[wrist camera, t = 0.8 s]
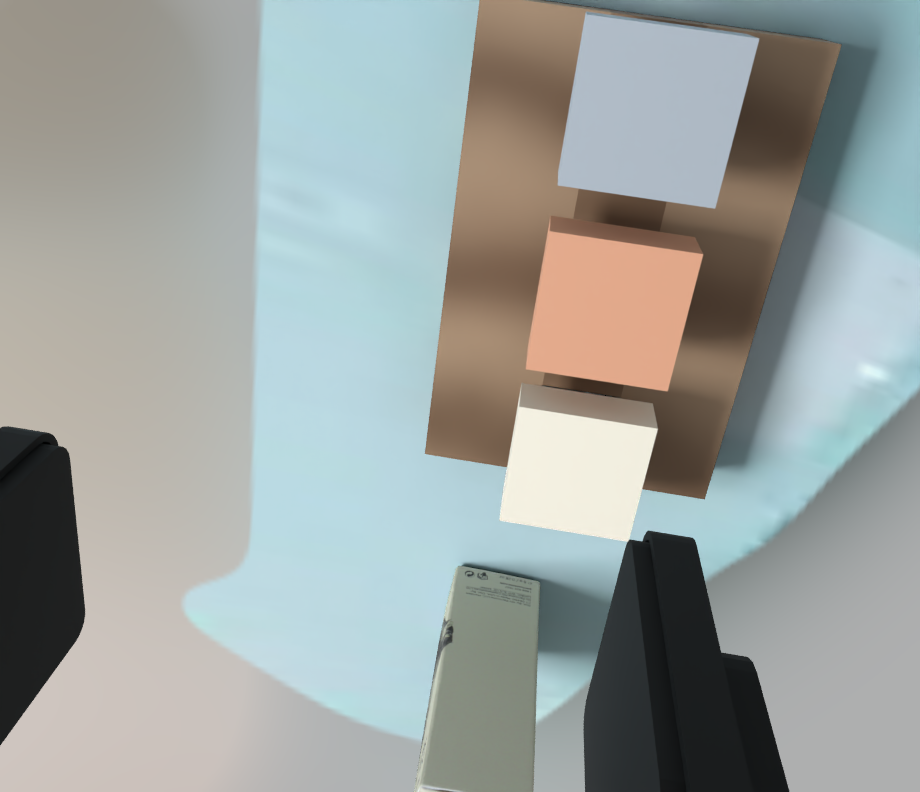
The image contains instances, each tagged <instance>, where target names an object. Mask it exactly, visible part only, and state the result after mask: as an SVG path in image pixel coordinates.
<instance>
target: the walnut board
mask: <svg viewBox="0 0 920 792" xmlns="http://www.w3.org/2000/svg"><path fill="white" fill-rule="evenodd" d="M586 12H593V13H601V14H608V15H615V16H622V17H629V18H636V19H644V20H651V21H658V22H665V23H672V24H679V25H687V26H694V27H701V28H708V29H715V30H723V31H730V32H737V33H744V34H748V35H751V36H754V37H757V38H759V42H758V46H757V50H756V54H755V58H754V61H753V65H752V69H751V73H750V77H749V81H748V85H747V88H746V92H745V96H744V100H743V104H742V108H741V111H740V115H739V119H738V123H737V127H736V131H735V134H734V138H733V142H732V146H731V150H730V154H729V158H728V161H727V165H726V169H725V173H724V177H723V181H722V184H721V188H720V192H719V196H718V200H717V204H716V207H715V209H714V208H707V207H700V206H694V205H687V204H680V203H673V202H667V201H660V200H653V199H646V198H639V197H633V196H626V195H619V194H612V193H606V192H599V191H592V190H585V189H579V188H572V187H565V186H558V170H559V164H560V158H561V152H562V147H563V141H564V135H565V129H566V123H567V118H568V112H569V106H570V100H571V94H572V89H573V83H574V77H575V71H576V65H577V60H578V54H579V48H580V42H581V37H582V31H583V25H584V19H585V13H586ZM841 45H842V44H838V43H834V42H831V41H827V40H824V39H818V38H811V37H804V36H797V35H790V34H782V33H775V32H768V31H761V30H754V29H746V28H739V27H732V26H725V25H718V24H711V23H703V22H696V21H689V20H682V19H675V18H667V17H660V16H653V15H646V14H639V13H631V12H624V11H617V10H610V9H603V8H596V7H588V6H581V5H574V4H567V3H560V2H552V1H545V0H480V2H479V10H478V18H477V27H476V35H475V43H474V51H473V60H472V68H471V76H470V85H469V93H468V101H467V109H466V118H465V126H464V134H463V143H462V151H461V159H460V167H459V176H458V184H457V192H456V201H455V209H454V217H453V225H452V234H451V242H450V250H449V259H448V267H447V275H446V283H445V292H444V300H443V308H442V317H441V325H440V333H439V341H438V350H437V358H436V366H435V375H434V383H433V391H432V399H431V408H430V416H429V424H428V433H427V441H426V449H425V454H429V455H435V456H441V457H447V458H453V459H459V460H466V461H472V462H478V463H484V464H490V465H496V466H503V467H507V465H508V459H509V453H510V447H511V442H512V436H513V430H514V424H515V419H516V413H517V407H518V401H519V395H520V390H521V384H522V383H526V384H532V385H539V386H542V385H546V386H553V387H559V388H565V389H572V390H578V391H584V392H591V393H597V394H603V395H610V396H612V397H615V398H621V399H627V400H634V401H640V402H646V403H653V407H654V412H655V417H656V422H657V427H658V430H657V434H656V438H655V442H654V446H653V449H652V453H651V457H650V461H649V465H648V469H647V473H646V476H645V480H644V484H643V488H642V489H645V490H651V491H657V492H663V493H669V494H675V495H682V496H688V497H694V498H700V499H705V496H706V493H707V489H708V486H709V483H710V480H711V476H712V473H713V470H714V466H715V463H716V460H717V456H718V453H719V450H720V446H721V443H722V440H723V436H724V433H725V430H726V426H727V423H728V420H729V417H730V413H731V410H732V407H733V403H734V400H735V397H736V393H737V390H738V387H739V383H740V380H741V377H742V373H743V370H744V367H745V363H746V360H747V357H748V354H749V350H750V347H751V344H752V340H753V337H754V334H755V330H756V327H757V324H758V320H759V317H760V314H761V310H762V307H763V304H764V300H765V297H766V294H767V290H768V287H769V284H770V281H771V277H772V274H773V271H774V267H775V264H776V261H777V257H778V254H779V251H780V247H781V244H782V241H783V237H784V234H785V231H786V227H787V224H788V221H789V218H790V214H791V211H792V208H793V204H794V201H795V198H796V194H797V191H798V188H799V184H800V181H801V178H802V174H803V171H804V168H805V164H806V161H807V158H808V155H809V151H810V148H811V145H812V141H813V138H814V135H815V131H816V128H817V125H818V121H819V118H820V115H821V111H822V108H823V105H824V101H825V98H826V95H827V92H828V88H829V85H830V82H831V78H832V75H833V72H834V68H835V65H836V62H837V58H838V55H839V52H840V48H841ZM550 216H557V217H564V218H571V219H577V220H584V221H591V222H597V223H604V224H611V225H617V226H624V227H631V228H638V229H644V230H651V231H658V232H664V233H671V234H678V235H684V236H691V237H695V238H696V240H697V242H698V244H699V247H700V249H701V251H702V253H703V257H702V261H701V265H700V269H699V273H698V277H697V280H696V284H695V288H694V292H693V296H692V300H691V303H690V307H689V311H688V315H687V319H686V323H685V327H684V330H683V334H682V338H681V342H680V346H679V350H678V353H677V357H676V361H675V365H674V369H673V373H672V376H671V380H670V384H669V388H668V392H667V391H661V390H655V389H648V388H642V387H636V386H629V385H623V384H616V383H610V382H604V381H597V380H591V379H585V378H578V377H572V376H566V375H559V374H553V373H546V372H540V371H534V370H527V369H526V361H527V351H528V343H529V338H530V332H531V326H532V320H533V314H534V309H535V303H536V297H537V291H538V285H539V280H540V274H541V268H542V262H543V256H544V251H545V245H546V239H547V233H548V228H549V222H550Z"/></svg>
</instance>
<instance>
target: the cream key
mask: <svg viewBox="0 0 920 792" xmlns="http://www.w3.org/2000/svg"><path fill="white" fill-rule="evenodd" d="M657 430H658V427H657V422H656V417H655V412H654V407H653V403H646V402H640V401H634V400H627V399H621V398H615V397H608V396H602V395H596V394H589V393H583V392H577V391H570V390H564V389H558V388H551V387H545V386H539V385H532V384H526V383H522V384H521V390H520V395H519V401H518V407H517V413H516V419H515V424H514V430H513V436H512V442H511V447H510V453H509V459H508V465H507V471H506V476H505V482H504V488H503V494H502V503H501V512H500V520H499V521H505V522H512V523H518V524H524V525H530V526H536V527H542V528H548V529H554V530H560V531H566V532H572V533H578V534H584V535H591V536H597V537H603V538H609V539H615V540H621V541H627V542H628V541H629V538H630V534H631V530H632V526H633V522H634V519H635V515H636V511H637V507H638V503H639V499H640V496H641V492H642V488H643V484H644V480H645V476H646V473H647V469H648V465H649V461H650V457H651V453H652V449H653V446H654V442H655V438H656V434H657Z"/></svg>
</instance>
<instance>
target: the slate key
mask: <svg viewBox="0 0 920 792" xmlns="http://www.w3.org/2000/svg"><path fill="white" fill-rule="evenodd" d="M758 42H759V38H757V37H754V36H751V35H748V34H744V33H737V32H730V31H723V30H715V29H708V28H701V27H694V26H687V25H679V24H672V23H665V22H658V21H651V20H644V19H636V18H629V17H622V16H615V15H608V14H601V13H593V12H586V13H585V19H584V25H583V31H582V37H581V42H580V48H579V54H578V60H577V65H576V71H575V77H574V83H573V89H572V94H571V100H570V106H569V112H568V118H567V123H566V129H565V135H564V141H563V147H562V152H561V158H560V164H559V170H558V186H565V187H572V188H579V189H585V190H592V191H599V192H606V193H612V194H619V195H626V196H633V197H639V198H646V199H653V200H660V201H667V202H673V203H680V204H687V205H694V206H700V207H707V208H714V209H715V207H716V204H717V200H718V196H719V192H720V188H721V184H722V181H723V177H724V173H725V169H726V165H727V161H728V158H729V154H730V150H731V146H732V142H733V138H734V134H735V131H736V127H737V123H738V119H739V115H740V111H741V108H742V104H743V100H744V96H745V92H746V88H747V85H748V81H749V77H750V73H751V69H752V65H753V61H754V58H755V54H756V50H757V46H758Z"/></svg>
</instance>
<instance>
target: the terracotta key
mask: <svg viewBox="0 0 920 792" xmlns="http://www.w3.org/2000/svg"><path fill="white" fill-rule="evenodd" d="M702 257H703V253H702V251H701V249H700V247H699V244H698V242H697V240H696V238H695V237H691V236H684V235H678V234H671V233H664V232H658V231H651V230H644V229H638V228H631V227H624V226H617V225H611V224H604V223H597V222H591V221H584V220H577V219H571V218H564V217H557V216H550V222H549V228H548V233H547V239H546V245H545V251H544V256H543V262H542V268H541V274H540V280H539V285H538V291H537V297H536V303H535V309H534V314H533V320H532V326H531V332H530V338H529V343H528V351H527V361H526V369H527V370H534V371H540V372H546V373H553V374H559V375H566V376H572V377H578V378H585V379H591V380H597V381H604V382H610V383H616V384H623V385H629V386H636V387H642V388H648V389H655V390H661V391H667V392H668V388H669V384H670V380H671V376H672V373H673V369H674V365H675V361H676V357H677V353H678V350H679V346H680V342H681V338H682V334H683V330H684V327H685V323H686V319H687V315H688V311H689V307H690V303H691V300H692V296H693V292H694V288H695V284H696V280H697V277H698V273H699V269H700V265H701V261H702Z"/></svg>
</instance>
